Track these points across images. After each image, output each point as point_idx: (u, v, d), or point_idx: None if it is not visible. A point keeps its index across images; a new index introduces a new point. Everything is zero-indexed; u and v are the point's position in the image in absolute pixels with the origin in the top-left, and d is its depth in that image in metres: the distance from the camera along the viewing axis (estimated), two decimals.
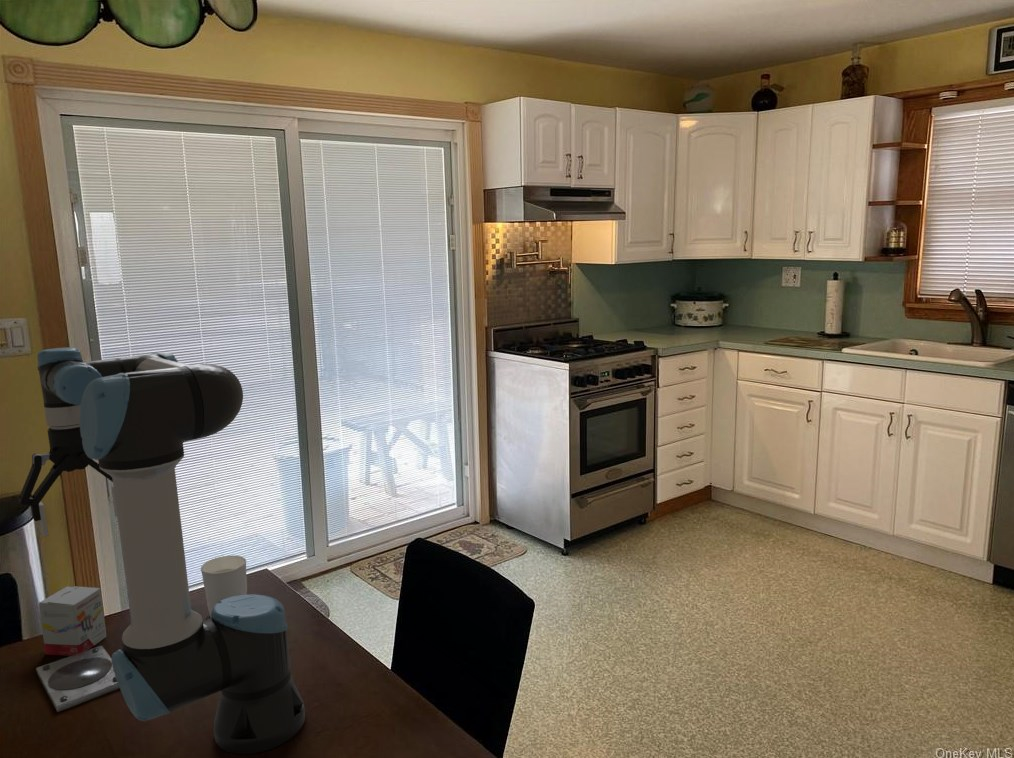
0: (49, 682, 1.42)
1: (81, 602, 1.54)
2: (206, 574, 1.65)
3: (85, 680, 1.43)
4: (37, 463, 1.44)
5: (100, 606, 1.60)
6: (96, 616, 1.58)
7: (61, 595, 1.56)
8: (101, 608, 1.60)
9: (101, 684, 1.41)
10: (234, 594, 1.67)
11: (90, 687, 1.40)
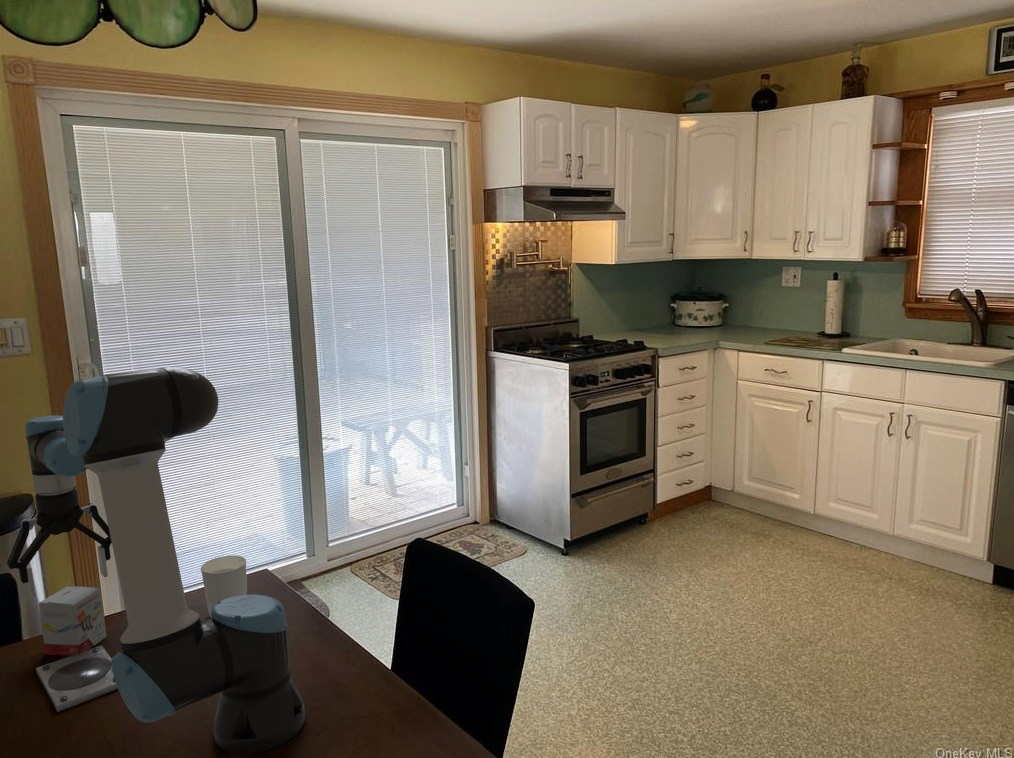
0: (49, 682, 1.42)
1: (81, 602, 1.54)
2: (206, 574, 1.65)
3: (85, 680, 1.43)
4: (25, 528, 1.49)
5: (100, 606, 1.60)
6: (95, 616, 1.58)
7: (61, 595, 1.56)
8: (101, 608, 1.60)
9: (101, 684, 1.41)
10: (234, 594, 1.67)
11: (90, 687, 1.40)
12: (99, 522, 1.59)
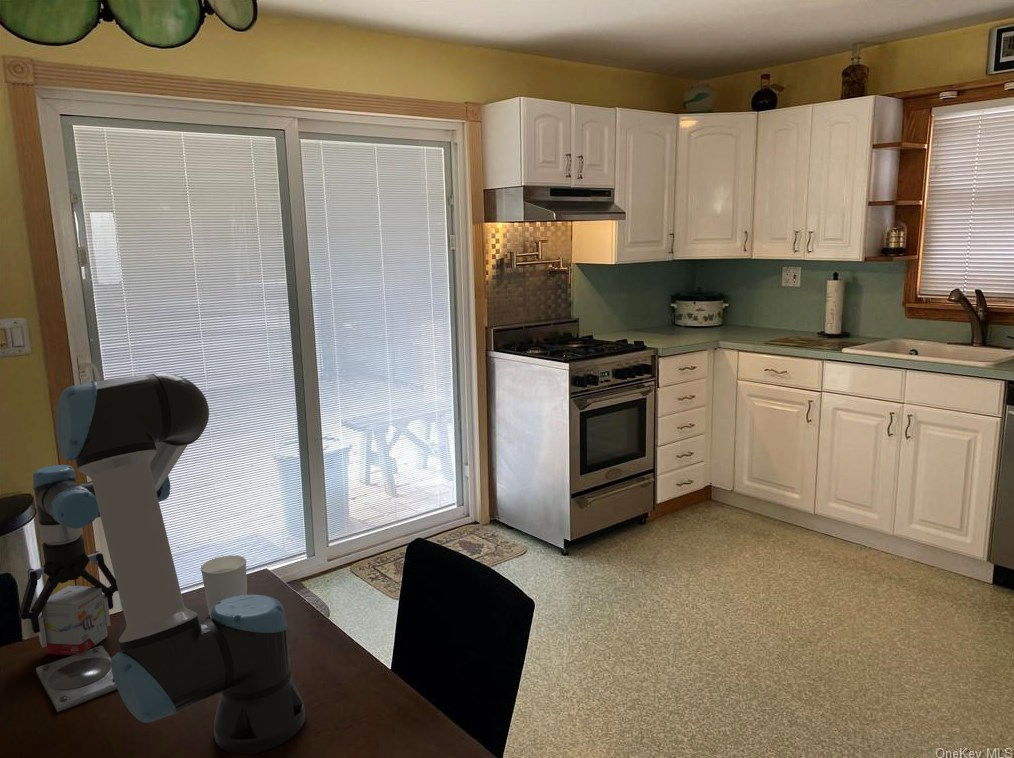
0: (49, 682, 1.42)
1: (82, 601, 1.54)
2: (206, 574, 1.65)
3: (85, 680, 1.43)
4: (33, 579, 1.51)
5: (101, 605, 1.60)
6: (97, 616, 1.59)
7: (62, 594, 1.57)
8: (102, 607, 1.60)
9: (101, 684, 1.41)
10: (234, 594, 1.67)
11: (90, 687, 1.40)
12: (104, 570, 1.60)
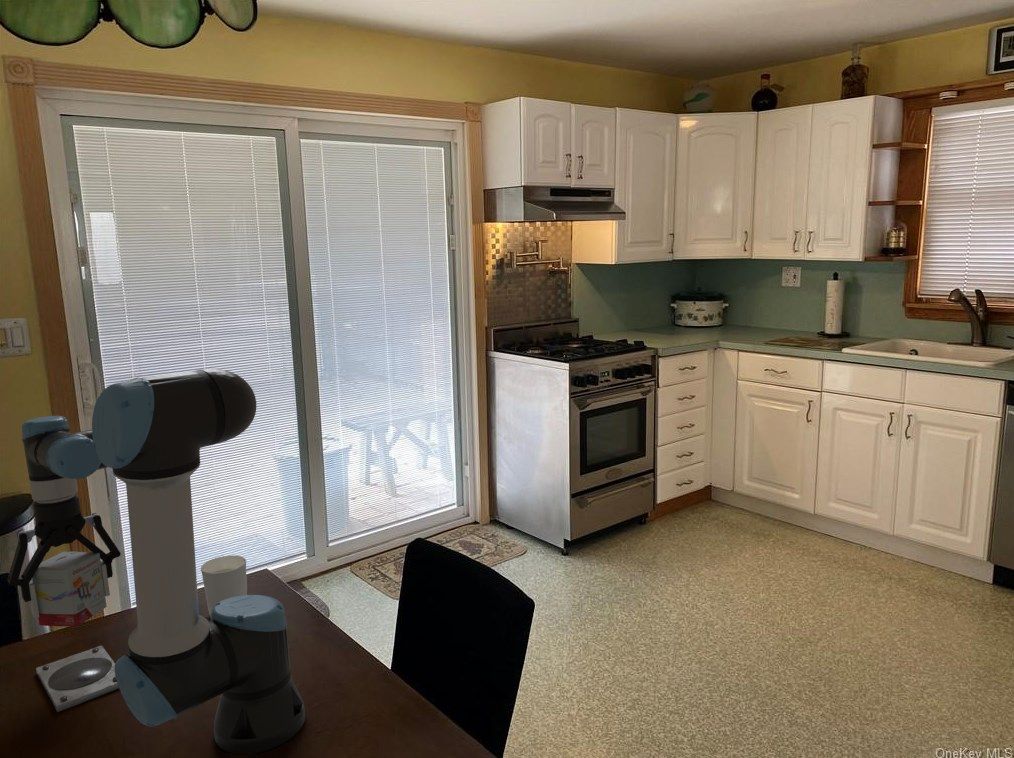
0: (49, 682, 1.42)
1: (77, 567, 1.39)
2: (206, 574, 1.65)
3: (85, 680, 1.43)
4: (23, 541, 1.36)
5: (99, 573, 1.45)
6: (94, 584, 1.44)
7: (56, 560, 1.42)
8: (100, 575, 1.45)
9: (101, 684, 1.41)
10: (234, 594, 1.67)
11: (90, 687, 1.40)
12: (102, 534, 1.45)
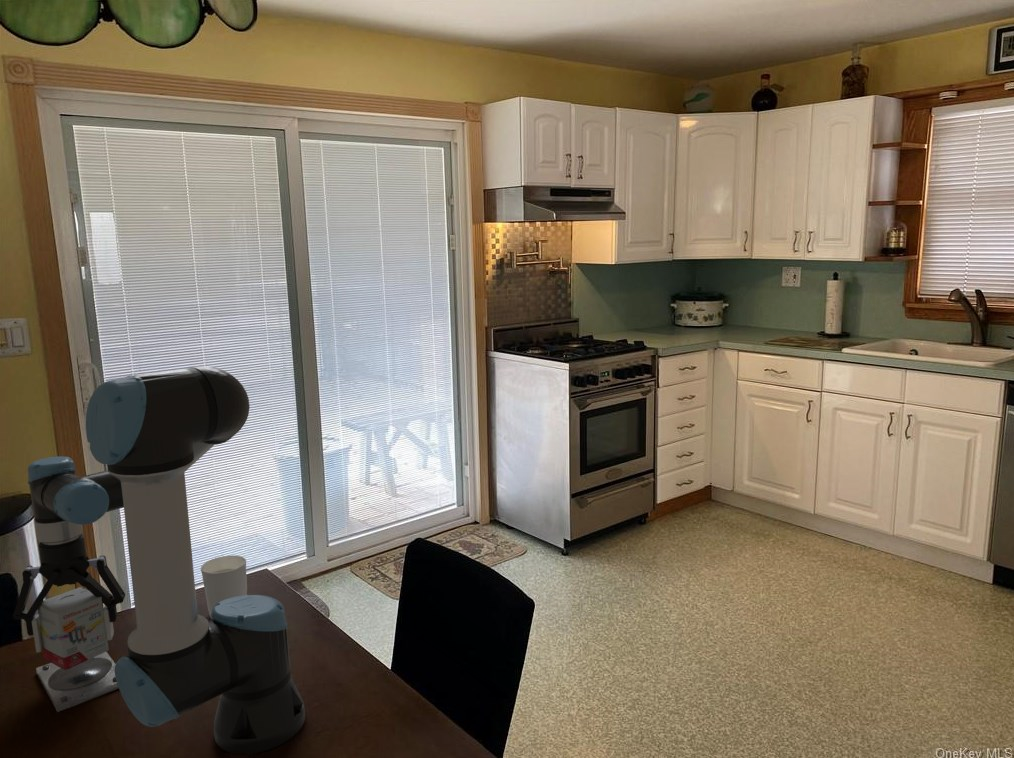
0: (49, 682, 1.42)
1: (70, 611, 1.39)
2: (206, 574, 1.65)
3: (85, 680, 1.43)
4: (25, 578, 1.39)
5: (100, 617, 1.43)
6: (92, 628, 1.42)
7: (62, 598, 1.43)
8: (101, 619, 1.44)
9: (101, 684, 1.41)
10: (234, 594, 1.67)
11: (90, 687, 1.40)
12: (104, 579, 1.43)
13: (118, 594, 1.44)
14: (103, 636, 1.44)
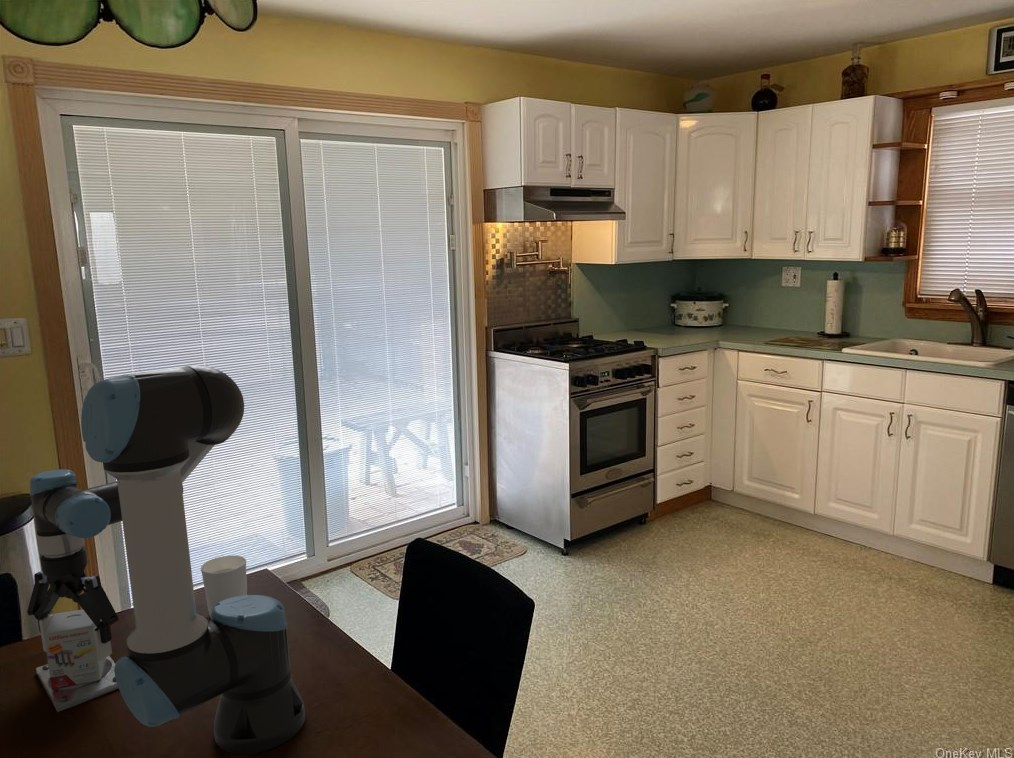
0: (49, 682, 1.42)
1: (56, 634, 1.38)
2: (206, 574, 1.65)
3: None
4: (36, 580, 1.43)
5: (90, 645, 1.41)
6: (80, 654, 1.40)
7: (70, 615, 1.44)
8: (91, 647, 1.41)
9: (101, 684, 1.41)
10: (234, 594, 1.67)
11: (90, 687, 1.40)
12: (92, 600, 1.39)
13: (104, 617, 1.39)
14: (93, 665, 1.42)
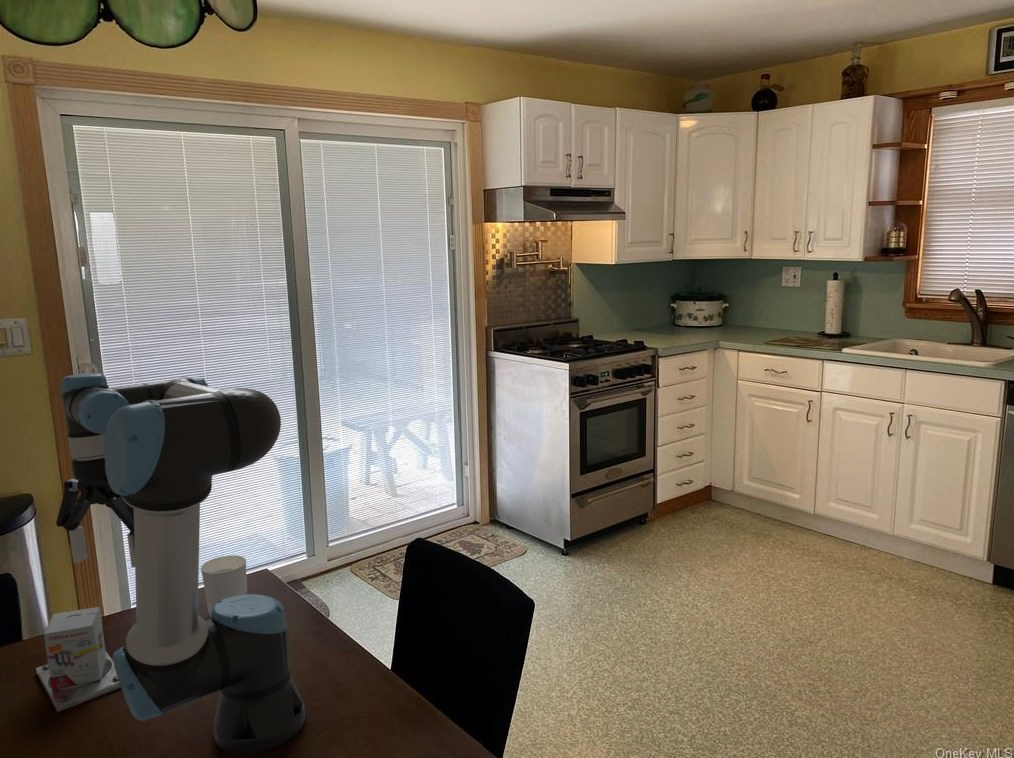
0: (49, 682, 1.42)
1: (56, 634, 1.38)
2: (206, 574, 1.65)
3: None
4: (66, 488, 1.40)
5: (90, 645, 1.41)
6: (80, 654, 1.40)
7: (70, 615, 1.44)
8: (91, 647, 1.41)
9: (101, 684, 1.41)
10: (234, 594, 1.67)
11: (90, 687, 1.40)
12: (125, 503, 1.37)
13: None
14: (93, 665, 1.42)
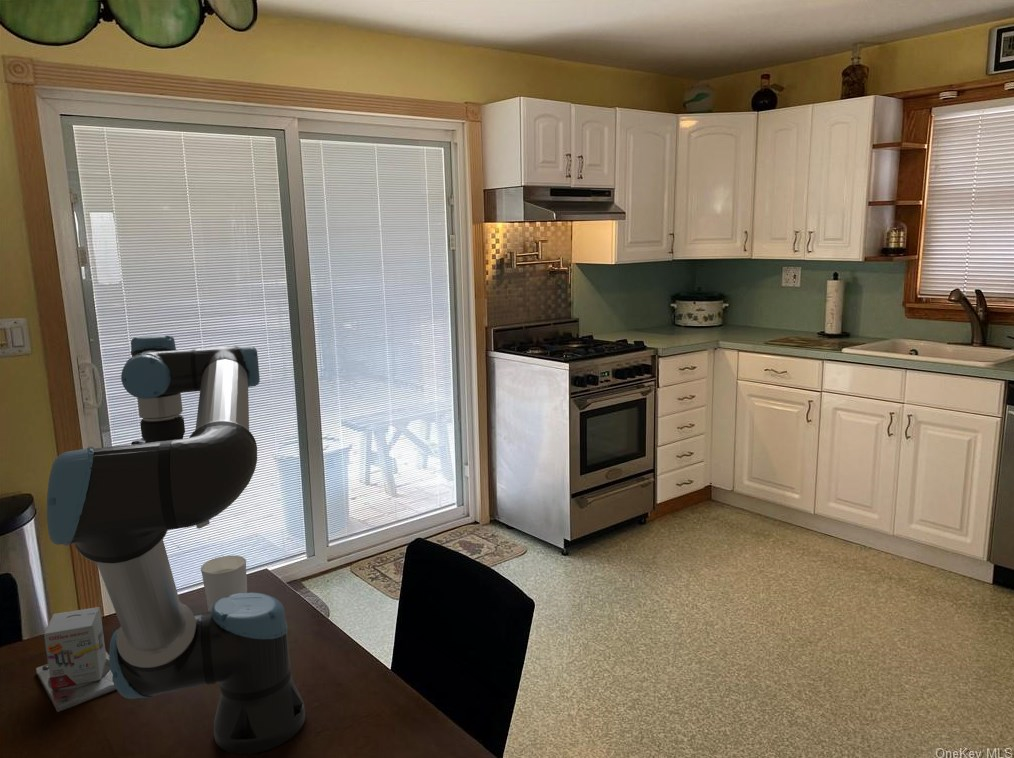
0: (49, 682, 1.42)
1: (56, 634, 1.38)
2: (206, 574, 1.65)
3: None
4: None
5: (90, 645, 1.41)
6: (80, 654, 1.40)
7: (70, 615, 1.44)
8: (91, 647, 1.41)
9: (101, 684, 1.41)
10: None
11: (90, 687, 1.40)
12: None
13: None
14: (93, 665, 1.42)
